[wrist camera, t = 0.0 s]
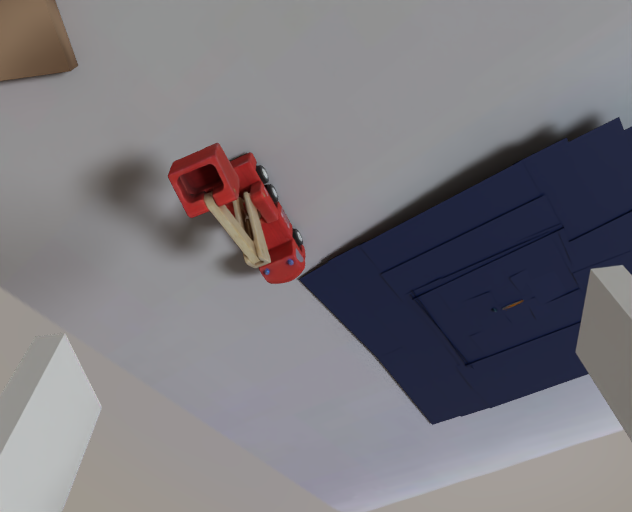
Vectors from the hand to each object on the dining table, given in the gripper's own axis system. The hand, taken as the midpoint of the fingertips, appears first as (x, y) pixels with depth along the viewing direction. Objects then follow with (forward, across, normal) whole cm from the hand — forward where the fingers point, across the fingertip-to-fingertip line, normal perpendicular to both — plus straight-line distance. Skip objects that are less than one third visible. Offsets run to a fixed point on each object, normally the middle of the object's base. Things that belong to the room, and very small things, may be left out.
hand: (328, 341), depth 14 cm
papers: (+28, +16, -21) cm, 39 cm away
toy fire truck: (+28, -5, -9) cm, 30 cm away
